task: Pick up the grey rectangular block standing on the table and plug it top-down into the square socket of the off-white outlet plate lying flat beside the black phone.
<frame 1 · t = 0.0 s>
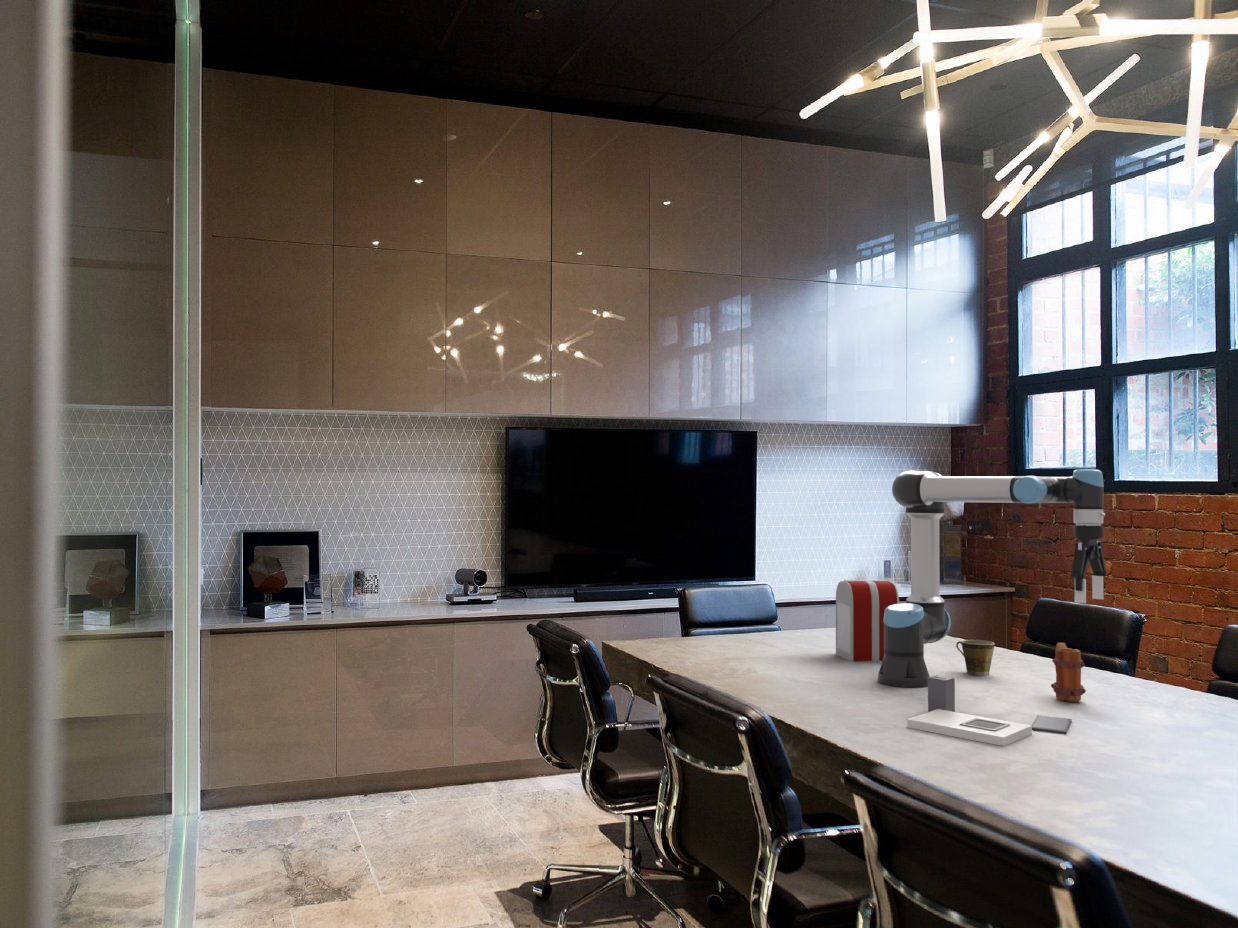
hand: (1089, 600, 265), 28 cm above the table, fingers open, 13 cm apart
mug: (1066, 699, 268), on the table
grey rectangular block: (941, 711, 251), on the table
red striped box: (866, 657, 334), on the table
outlet plate: (968, 730, 231), on the table
ceramic cup: (973, 673, 306), on the table
phone: (1051, 727, 237), on the table
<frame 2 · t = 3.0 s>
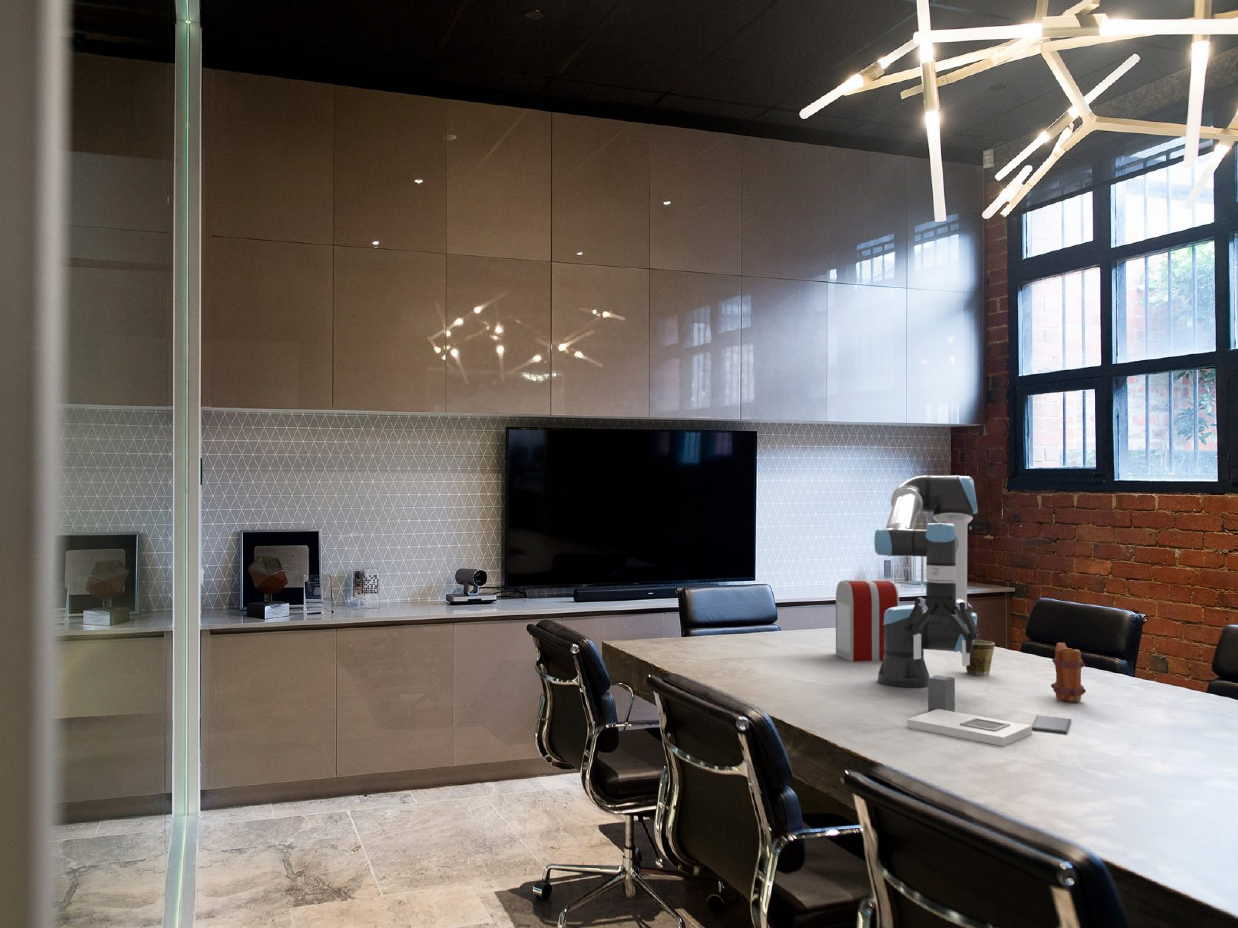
hand: (941, 662, 251), 13 cm above the table, fingers open, 13 cm apart
nothing on the table moved.
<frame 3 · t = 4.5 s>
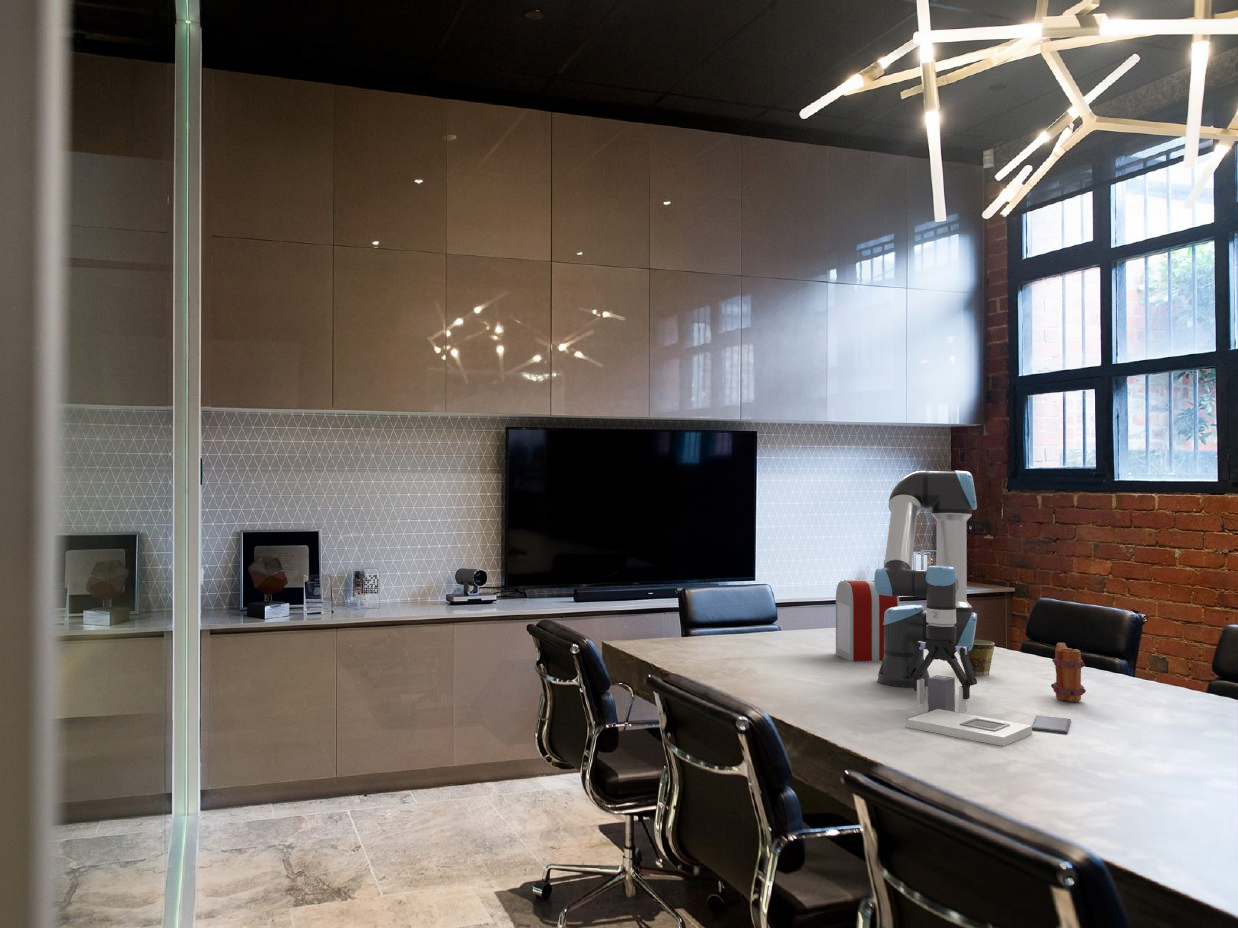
hand: (941, 707, 251), 1 cm above the table, fingers open, 11 cm apart
nothing on the table moved.
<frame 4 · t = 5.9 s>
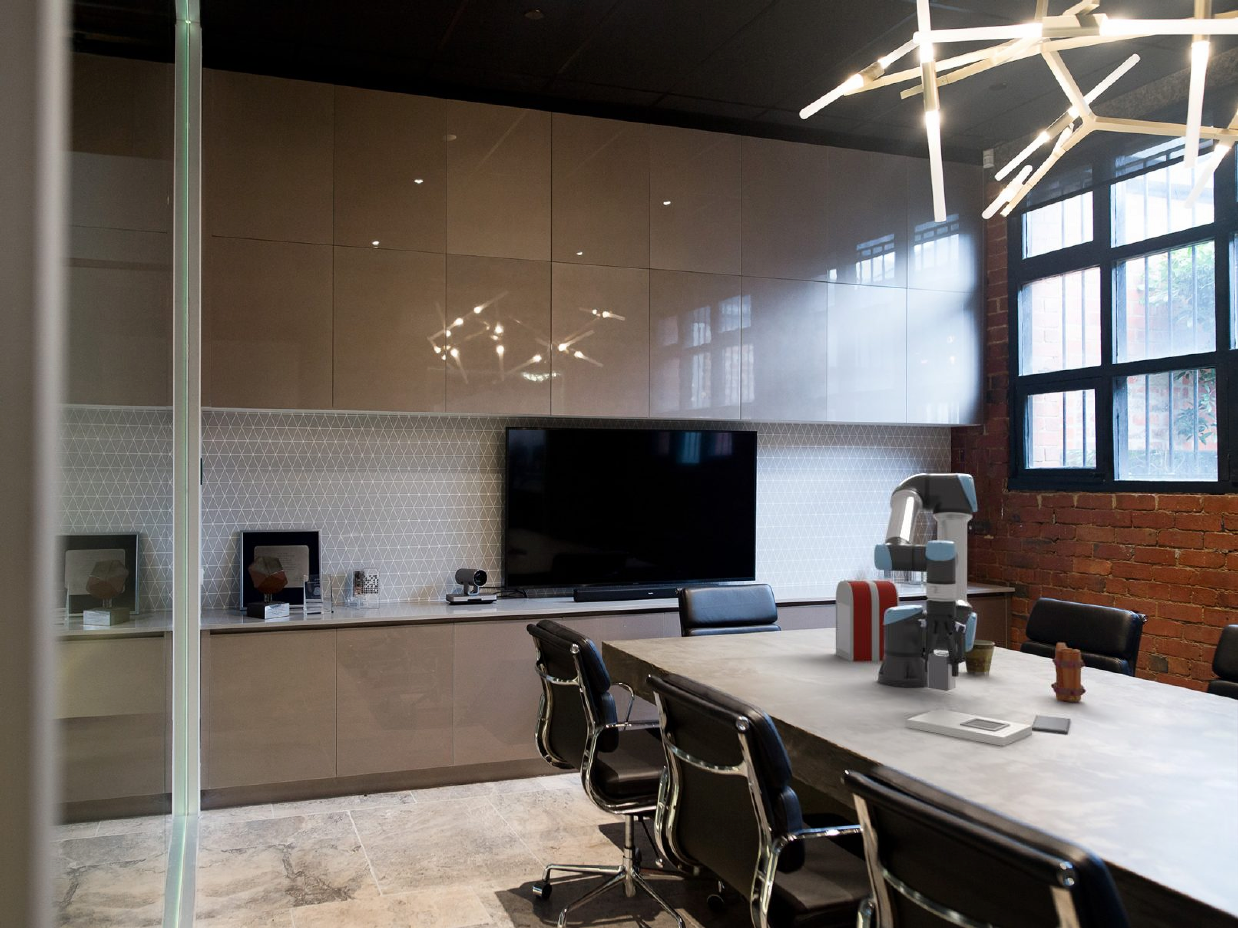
hand: (941, 686, 252), 7 cm above the table, fingers closed on grey rectangular block, 5 cm apart
grey rectangular block: (941, 687, 252), point 6 cm above the table, touching gripper
everything else where it was.
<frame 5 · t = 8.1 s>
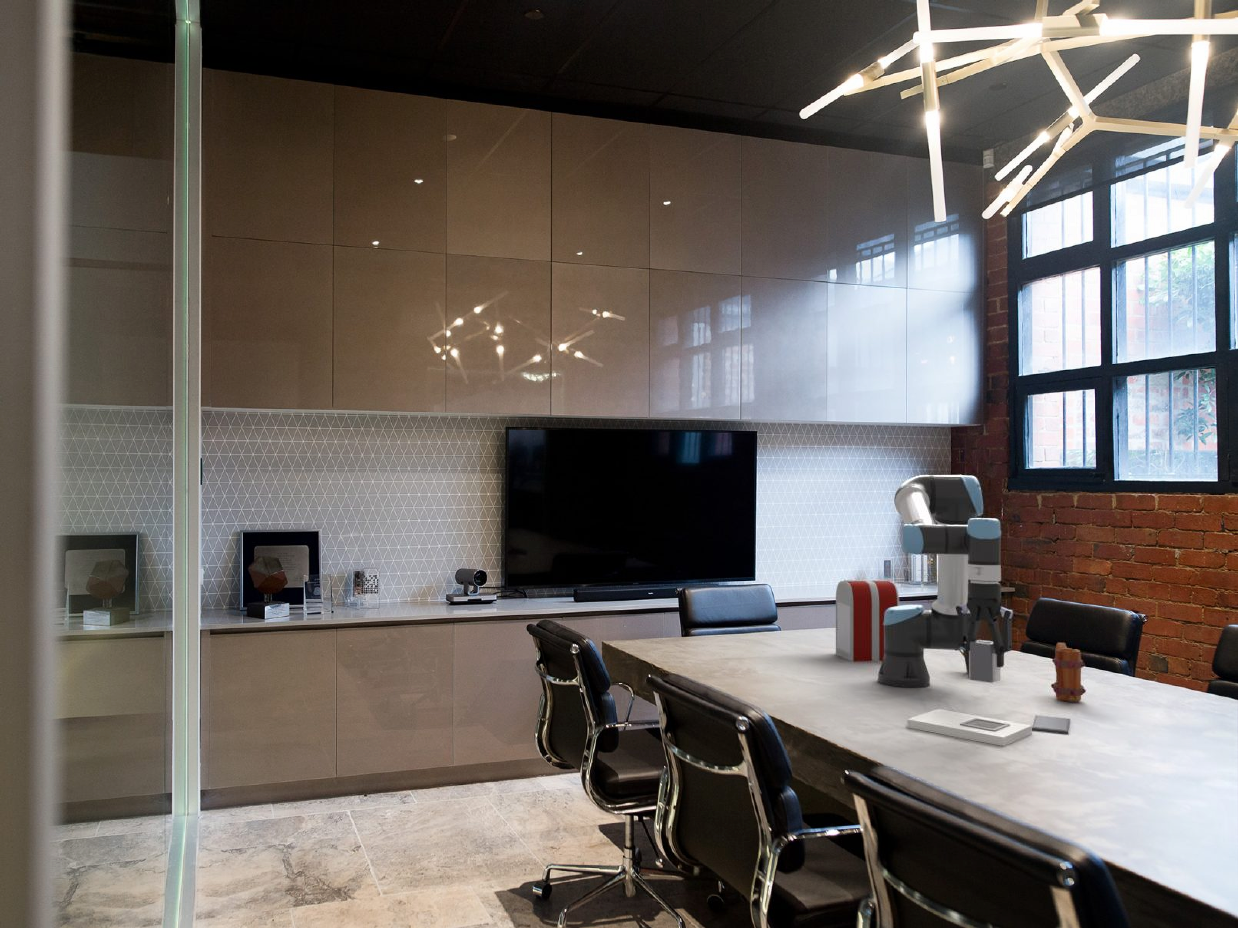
hand: (984, 678, 229), 13 cm above the table, fingers closed on grey rectangular block, 5 cm apart
grey rectangular block: (985, 679, 229), point 13 cm above the table, touching gripper
everything else where it was.
when the fingers open (3 cm above the table, at t = 10.5 s): grey rectangular block drops 2 cm, resting in outlet plate.
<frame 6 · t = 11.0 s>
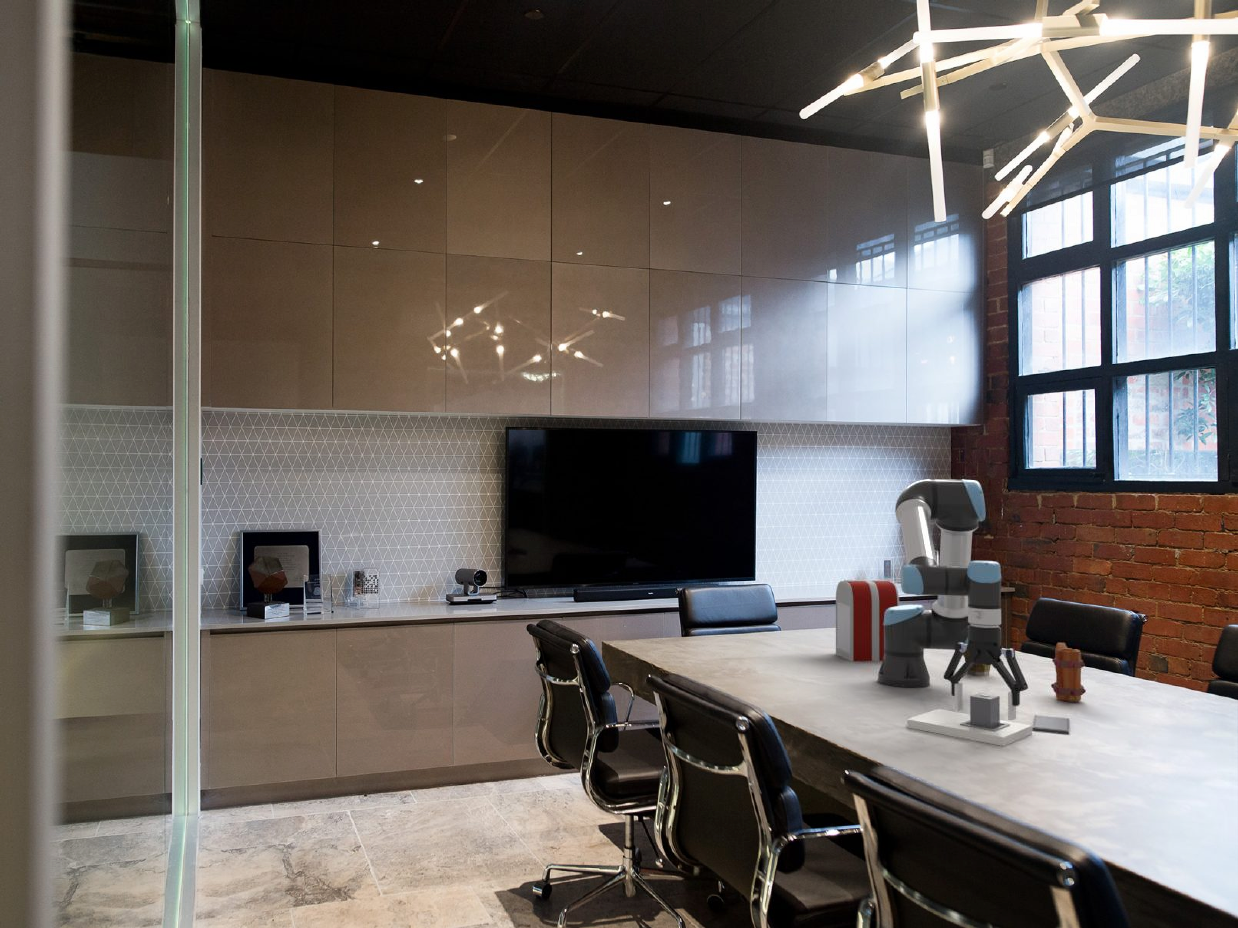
hand: (984, 714, 229), 5 cm above the table, fingers open, 12 cm apart
grey rectangular block: (985, 733, 229), resting in outlet plate
everything else where it was.
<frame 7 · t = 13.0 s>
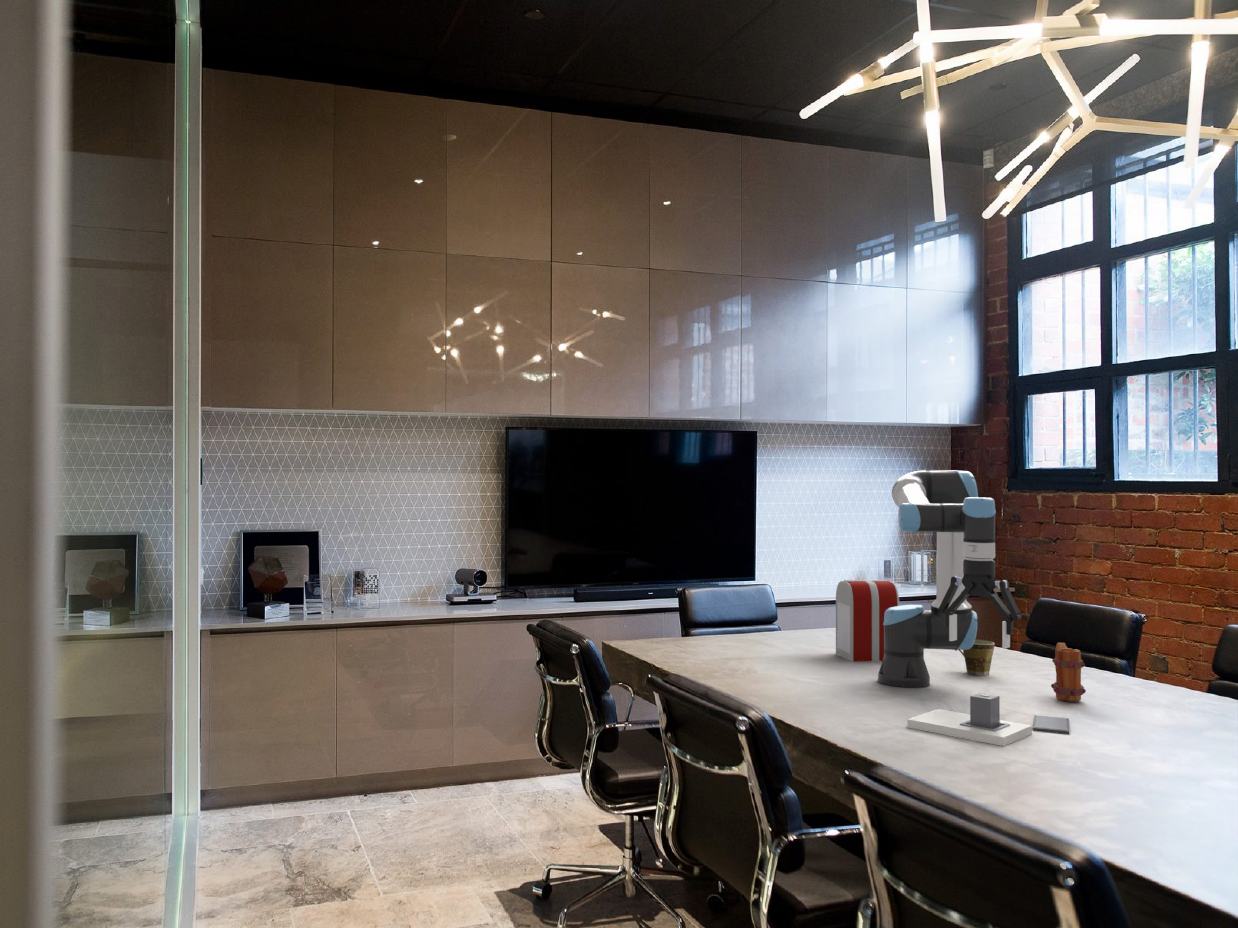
hand: (979, 644, 237), 20 cm above the table, fingers open, 13 cm apart
nothing on the table moved.
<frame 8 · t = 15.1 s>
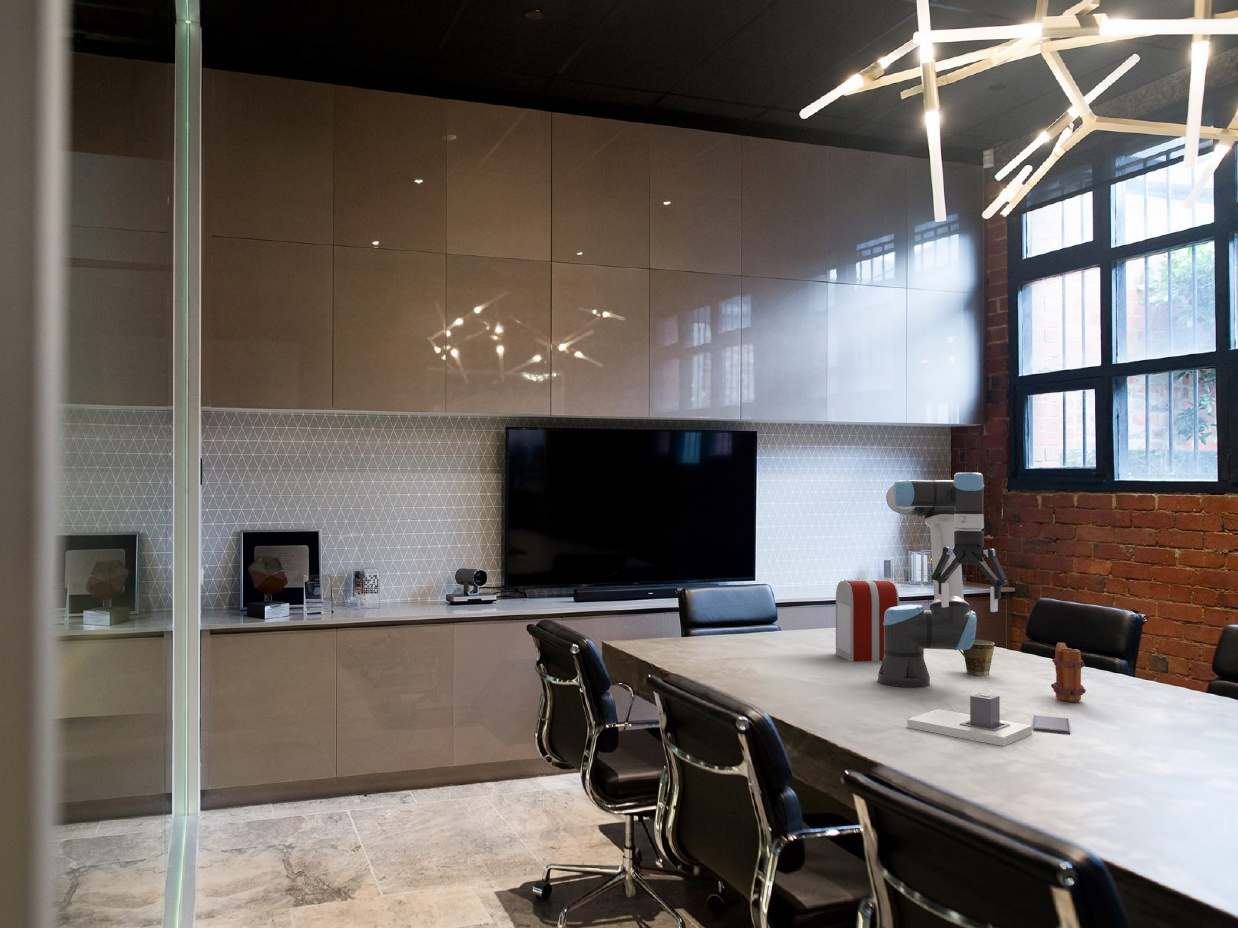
hand: (969, 609, 255), 27 cm above the table, fingers open, 13 cm apart
nothing on the table moved.
at the end: grey rectangular block 0.1 cm from the target spot on the outlet plate, point 0.0 cm above the outlet plate's base; grey rectangular block tilted 0°; the gripper is holding nothing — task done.
